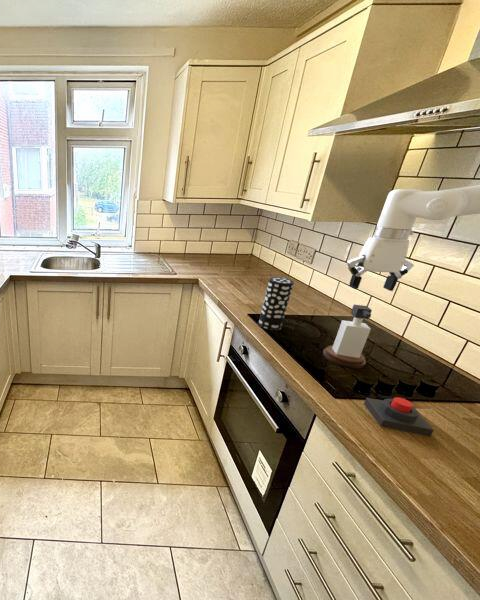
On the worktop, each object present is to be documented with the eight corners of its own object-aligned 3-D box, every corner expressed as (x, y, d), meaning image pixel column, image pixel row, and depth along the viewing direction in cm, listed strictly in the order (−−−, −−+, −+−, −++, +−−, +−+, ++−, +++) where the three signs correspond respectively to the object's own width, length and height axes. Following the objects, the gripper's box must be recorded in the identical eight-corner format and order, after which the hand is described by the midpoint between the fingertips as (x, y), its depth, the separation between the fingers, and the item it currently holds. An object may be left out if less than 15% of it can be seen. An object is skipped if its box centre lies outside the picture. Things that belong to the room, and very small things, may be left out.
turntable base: (355, 353, 112) (356, 350, 112) (371, 371, 102) (373, 368, 102) (317, 347, 116) (318, 344, 115) (329, 364, 106) (330, 361, 105)
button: (404, 405, 82) (408, 398, 81) (413, 414, 79) (416, 408, 78) (387, 402, 83) (390, 395, 82) (395, 411, 80) (398, 404, 79)
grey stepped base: (408, 412, 85) (414, 400, 83) (430, 436, 77) (437, 424, 75) (363, 403, 88) (368, 392, 86) (380, 426, 80) (386, 414, 78)
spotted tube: (263, 319, 137) (274, 275, 130) (284, 326, 132) (297, 281, 124) (254, 324, 133) (265, 279, 125) (276, 332, 127) (289, 285, 119)
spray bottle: (321, 344, 115) (337, 299, 108) (356, 350, 111) (375, 303, 104) (331, 359, 106) (349, 310, 99) (369, 366, 102) (390, 316, 95)
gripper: (414, 232, 94) (392, 286, 101) (350, 230, 97) (333, 283, 103) (436, 237, 88) (411, 294, 94) (367, 235, 90) (347, 291, 97)
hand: (370, 288), depth 99 cm, fingers open, 9 cm apart
